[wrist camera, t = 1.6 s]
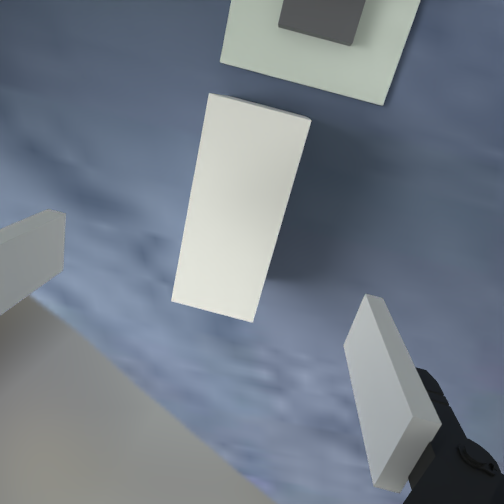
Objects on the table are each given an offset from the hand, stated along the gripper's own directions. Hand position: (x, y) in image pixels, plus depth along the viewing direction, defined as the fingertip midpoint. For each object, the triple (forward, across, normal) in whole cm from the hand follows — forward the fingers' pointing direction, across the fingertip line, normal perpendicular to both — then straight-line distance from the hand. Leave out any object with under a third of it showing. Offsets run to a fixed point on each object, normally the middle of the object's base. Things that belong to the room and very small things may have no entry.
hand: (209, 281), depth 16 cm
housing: (+15, 0, 0) cm, 15 cm away
